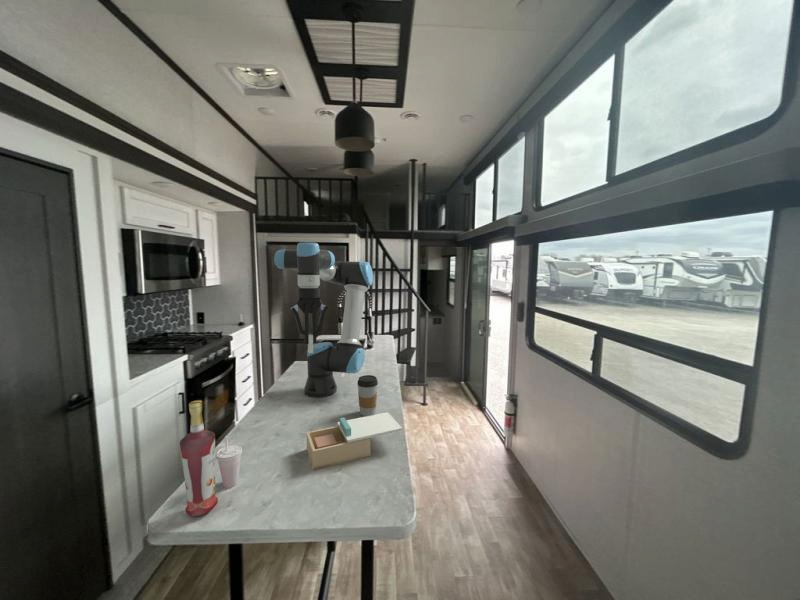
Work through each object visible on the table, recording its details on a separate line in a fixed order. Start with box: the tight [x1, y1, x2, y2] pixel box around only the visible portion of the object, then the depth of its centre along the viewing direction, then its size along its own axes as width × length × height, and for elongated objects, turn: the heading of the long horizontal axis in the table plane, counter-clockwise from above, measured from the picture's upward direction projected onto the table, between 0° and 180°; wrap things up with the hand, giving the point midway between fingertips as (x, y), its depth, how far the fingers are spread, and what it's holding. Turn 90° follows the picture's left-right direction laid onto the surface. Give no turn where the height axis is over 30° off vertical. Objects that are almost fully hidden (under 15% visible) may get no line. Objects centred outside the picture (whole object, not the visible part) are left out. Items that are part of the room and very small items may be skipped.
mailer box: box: [305, 425, 371, 471], centre depth 106 cm, size 12×18×6 cm, turn 115°
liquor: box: [179, 399, 219, 517], centre depth 80 cm, size 7×7×28 cm
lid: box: [337, 411, 403, 443], centre depth 110 cm, size 13×19×3 cm
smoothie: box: [215, 435, 243, 489], centre depth 91 cm, size 6×6×14 cm
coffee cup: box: [357, 374, 379, 417], centre depth 134 cm, size 8×8×15 cm
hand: (310, 352), depth 118 cm, fingers closed
